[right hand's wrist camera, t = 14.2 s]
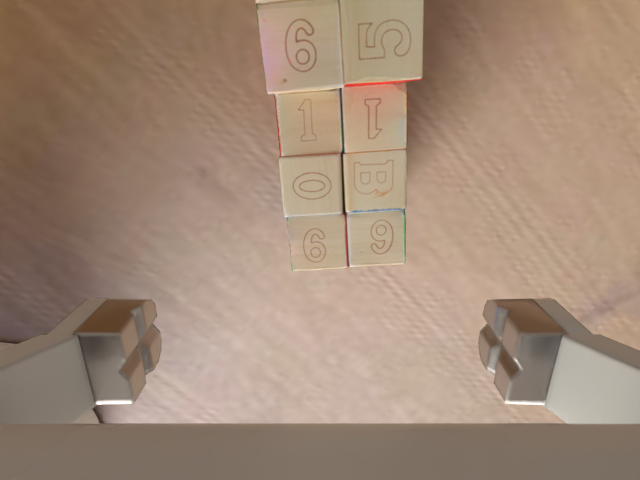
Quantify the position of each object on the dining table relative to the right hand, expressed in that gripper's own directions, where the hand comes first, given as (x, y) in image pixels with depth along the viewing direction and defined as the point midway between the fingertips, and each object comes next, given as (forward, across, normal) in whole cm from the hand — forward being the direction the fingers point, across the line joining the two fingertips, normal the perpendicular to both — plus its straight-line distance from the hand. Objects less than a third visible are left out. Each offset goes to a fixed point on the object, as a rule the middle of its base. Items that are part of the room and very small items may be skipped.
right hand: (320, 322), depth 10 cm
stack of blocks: (+20, -1, -7) cm, 21 cm away
